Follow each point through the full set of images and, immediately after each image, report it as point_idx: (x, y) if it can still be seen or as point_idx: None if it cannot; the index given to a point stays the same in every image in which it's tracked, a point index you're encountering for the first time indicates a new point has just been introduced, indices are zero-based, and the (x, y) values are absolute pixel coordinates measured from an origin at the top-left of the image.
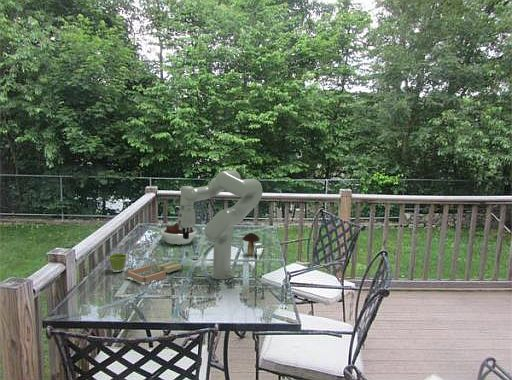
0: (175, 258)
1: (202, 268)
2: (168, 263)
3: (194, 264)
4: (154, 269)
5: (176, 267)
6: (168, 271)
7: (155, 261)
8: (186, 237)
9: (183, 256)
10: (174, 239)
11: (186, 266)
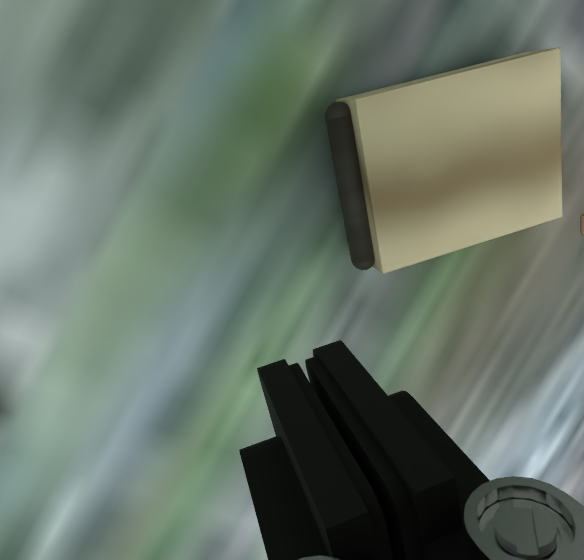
0: (180, 496)
1: (48, 14)
2: (454, 223)
3: (77, 226)
4: (504, 278)
5: (431, 78)
6: (530, 52)
7: None
8: (359, 374)
9: (68, 531)
10: None
11: (205, 207)
